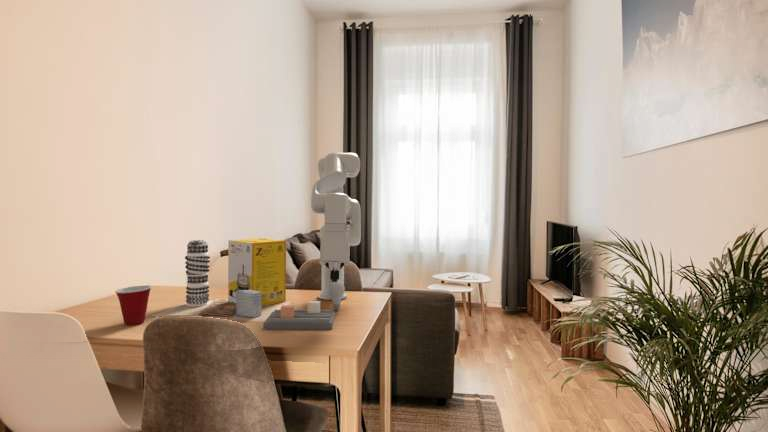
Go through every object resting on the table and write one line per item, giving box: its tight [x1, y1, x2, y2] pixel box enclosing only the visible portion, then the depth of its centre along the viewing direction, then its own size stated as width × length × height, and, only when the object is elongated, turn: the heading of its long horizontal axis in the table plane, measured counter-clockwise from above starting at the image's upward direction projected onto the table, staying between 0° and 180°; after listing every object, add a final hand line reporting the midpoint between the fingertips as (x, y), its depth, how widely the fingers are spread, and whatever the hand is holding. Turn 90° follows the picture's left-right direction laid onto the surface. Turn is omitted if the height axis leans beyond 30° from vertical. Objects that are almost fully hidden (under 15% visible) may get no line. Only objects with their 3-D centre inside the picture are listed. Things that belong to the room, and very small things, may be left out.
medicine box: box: [235, 290, 262, 318], centre depth 165 cm, size 8×4×9 cm, turn 65°
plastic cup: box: [114, 285, 153, 326], centre depth 152 cm, size 11×11×12 cm
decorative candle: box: [184, 239, 211, 308], centre depth 180 cm, size 9×9×25 cm
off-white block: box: [307, 300, 321, 313], centre depth 159 cm, size 3×4×4 cm
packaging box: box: [227, 237, 287, 307], centre depth 186 cm, size 16×16×25 cm
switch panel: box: [263, 309, 336, 330], centre depth 156 cm, size 15×22×3 cm
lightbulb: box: [329, 281, 346, 311], centre depth 174 cm, size 6×6×11 cm
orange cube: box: [280, 304, 295, 318], centre depth 152 cm, size 3×4×4 cm
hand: (334, 281), depth 159 cm, fingers closed
